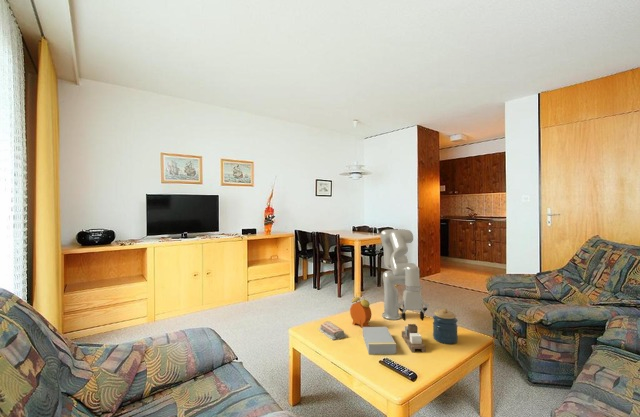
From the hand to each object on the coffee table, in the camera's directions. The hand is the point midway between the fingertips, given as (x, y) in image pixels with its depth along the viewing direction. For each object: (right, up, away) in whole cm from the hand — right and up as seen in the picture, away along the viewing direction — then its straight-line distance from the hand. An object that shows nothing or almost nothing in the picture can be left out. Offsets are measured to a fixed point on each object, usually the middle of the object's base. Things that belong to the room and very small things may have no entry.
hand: (412, 319), depth 161 cm
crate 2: (0, -10, -4) cm, 11 cm away
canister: (+20, -14, +6) cm, 25 cm away
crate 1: (0, -10, +5) cm, 11 cm away
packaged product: (-44, -15, +16) cm, 49 cm away
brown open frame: (0, -14, +1) cm, 14 cm away
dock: (-19, -14, +1) cm, 23 cm away
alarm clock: (-25, -14, +27) cm, 39 cm away
